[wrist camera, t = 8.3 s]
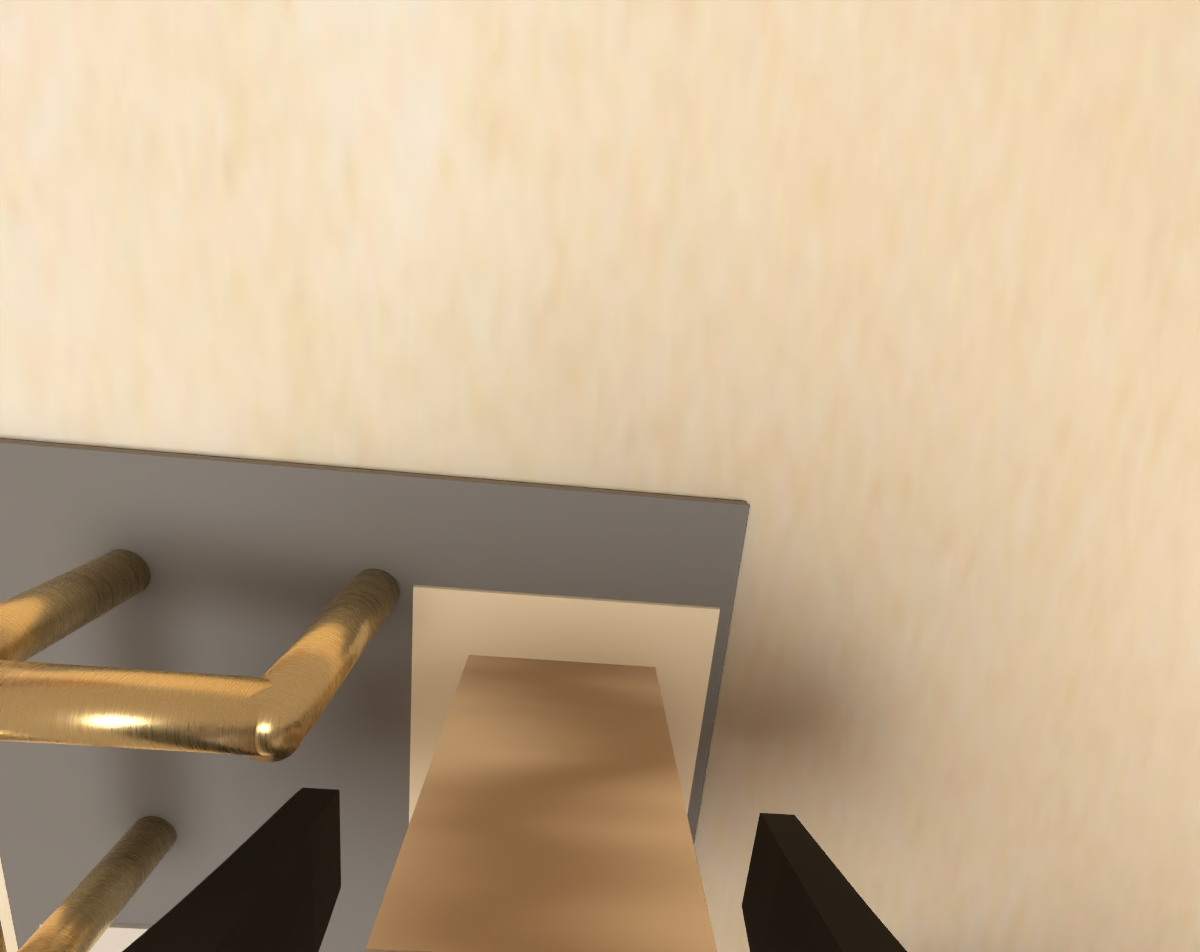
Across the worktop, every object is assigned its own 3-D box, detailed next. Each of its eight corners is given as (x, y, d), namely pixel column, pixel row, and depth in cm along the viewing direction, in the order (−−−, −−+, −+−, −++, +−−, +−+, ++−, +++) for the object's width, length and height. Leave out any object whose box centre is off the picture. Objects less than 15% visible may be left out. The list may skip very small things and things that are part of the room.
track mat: (745, 501, 12) (751, 507, 12) (649, 1089, 16) (651, 1107, 16) (-65, 433, 11) (-88, 437, 11) (54, 1071, 15) (41, 1091, 15)
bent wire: (400, 570, 12) (293, 709, 7) (396, 864, 14) (308, 1114, 9) (95, 547, 12) (-201, 679, 7) (133, 850, 13) (-85, 1103, 9)
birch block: (655, 667, 12) (719, 962, 7) (635, 818, 13) (675, 1193, 8) (468, 654, 12) (365, 948, 6) (462, 810, 13) (367, 1188, 7)
